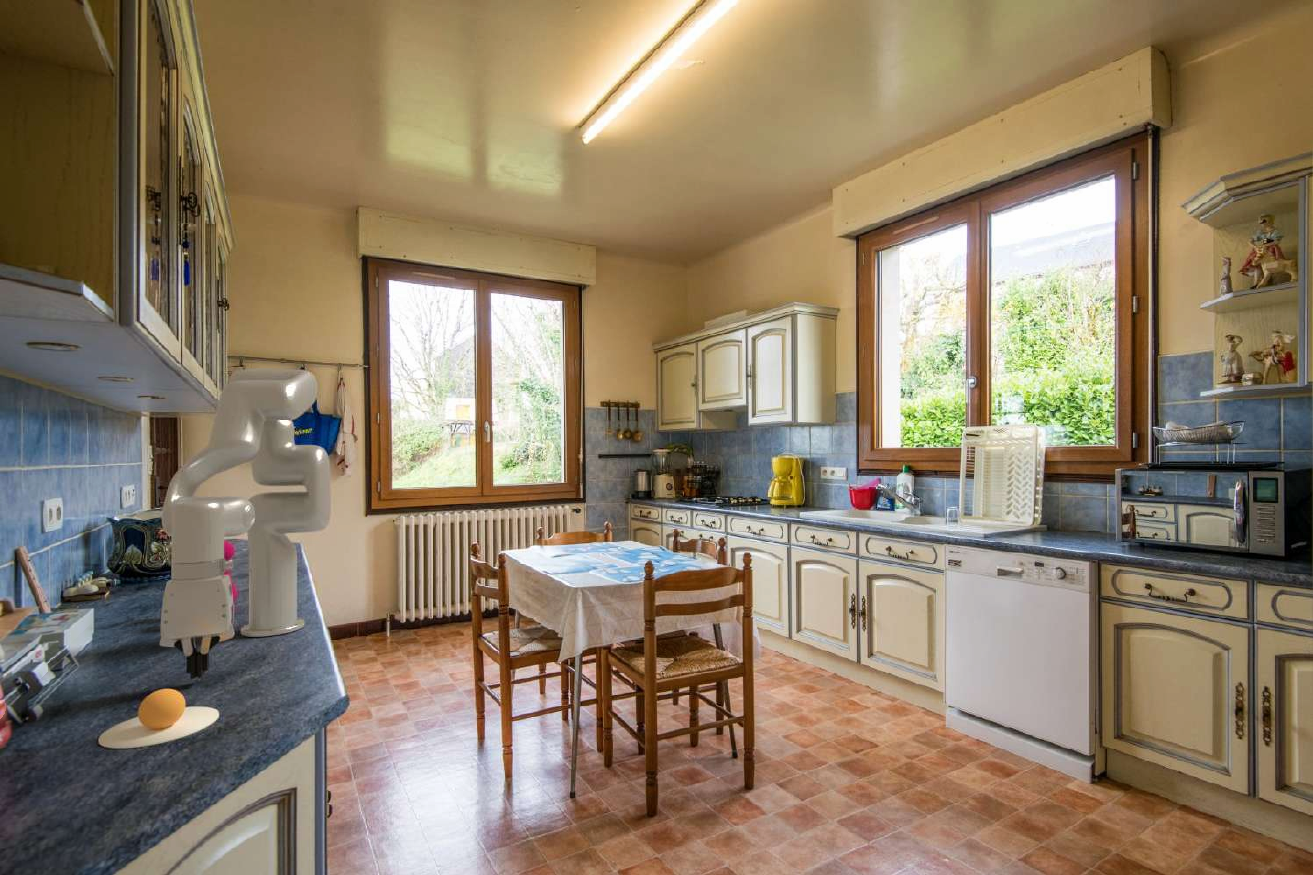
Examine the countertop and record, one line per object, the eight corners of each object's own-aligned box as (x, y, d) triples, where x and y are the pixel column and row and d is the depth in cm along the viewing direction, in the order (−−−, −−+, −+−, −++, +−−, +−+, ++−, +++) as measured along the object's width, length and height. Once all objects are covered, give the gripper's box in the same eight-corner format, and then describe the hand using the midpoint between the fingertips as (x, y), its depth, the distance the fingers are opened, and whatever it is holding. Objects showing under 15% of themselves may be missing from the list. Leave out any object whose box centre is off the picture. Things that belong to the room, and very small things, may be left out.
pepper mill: (237, 608, 168) (237, 532, 168) (237, 614, 162) (237, 535, 162) (204, 612, 164) (204, 535, 164) (202, 618, 158) (202, 538, 158)
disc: (117, 718, 97) (117, 717, 97) (226, 701, 103) (226, 700, 103) (82, 757, 84) (82, 755, 84) (209, 735, 90) (209, 733, 90)
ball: (144, 686, 95) (131, 702, 90) (188, 679, 97) (178, 694, 92) (146, 722, 95) (133, 740, 90) (190, 714, 97) (180, 731, 92)
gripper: (251, 563, 118) (251, 663, 118) (151, 571, 112) (151, 676, 111) (245, 570, 112) (245, 675, 111) (138, 578, 105) (138, 690, 105)
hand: (198, 675), depth 111 cm, fingers closed
